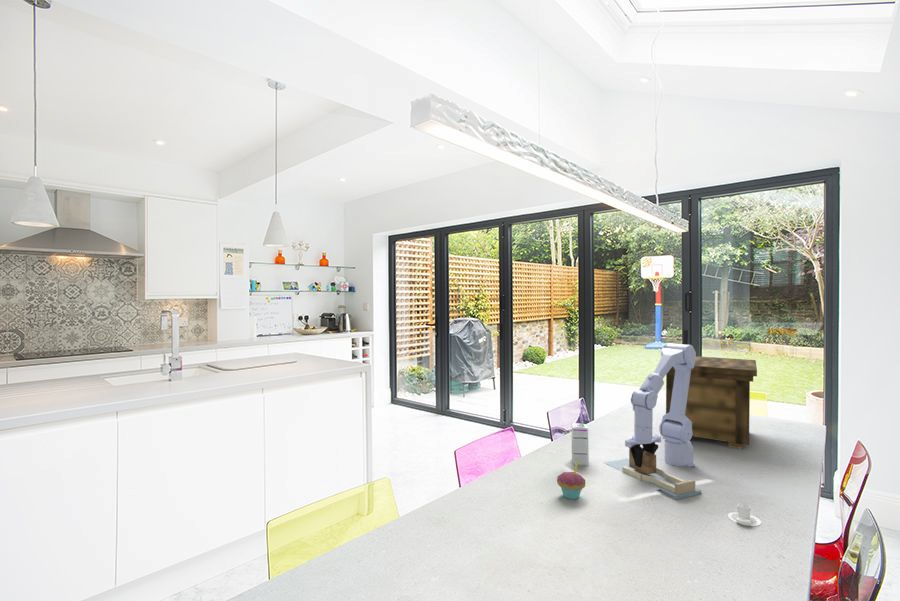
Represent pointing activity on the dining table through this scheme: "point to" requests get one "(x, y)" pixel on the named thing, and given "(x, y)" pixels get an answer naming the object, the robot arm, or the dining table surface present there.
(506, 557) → the dining table surface
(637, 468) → the brown prism
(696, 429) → the crate
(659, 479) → the slide board
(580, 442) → the syrup box
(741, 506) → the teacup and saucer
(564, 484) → the cupcake
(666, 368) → the robot arm
